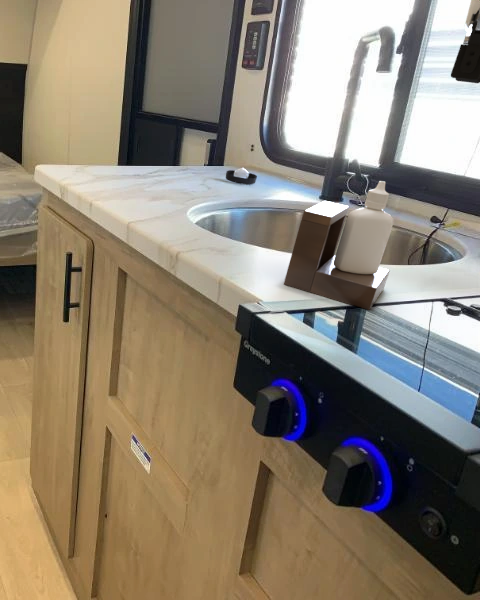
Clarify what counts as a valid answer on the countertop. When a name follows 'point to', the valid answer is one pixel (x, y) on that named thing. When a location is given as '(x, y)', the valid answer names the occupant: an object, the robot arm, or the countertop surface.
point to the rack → (329, 260)
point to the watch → (241, 176)
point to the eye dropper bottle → (365, 235)
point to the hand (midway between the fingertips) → (465, 80)
